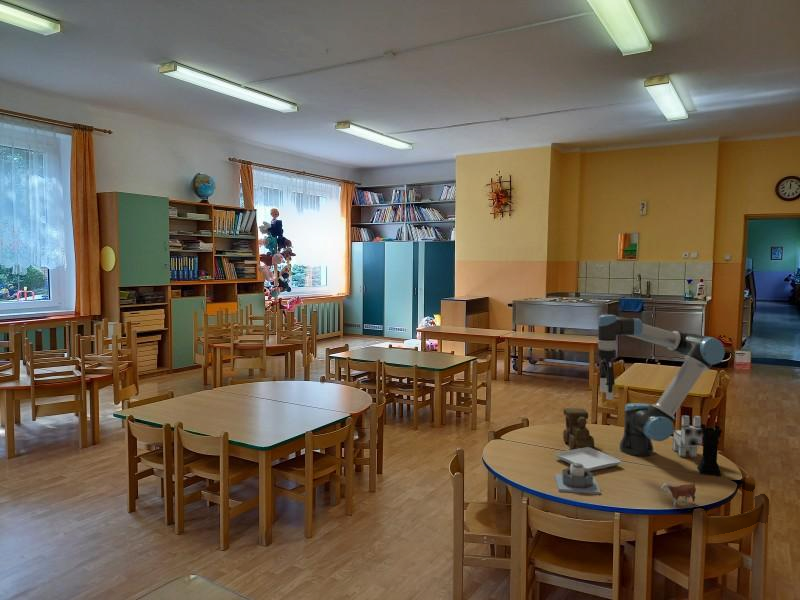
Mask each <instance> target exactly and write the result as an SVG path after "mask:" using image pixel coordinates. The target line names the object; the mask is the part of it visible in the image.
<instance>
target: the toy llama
mask: <svg viewBox="0 0 800 600" xmlns="http://www.w3.org/2000/svg"><path fill="white" fill-rule="evenodd" d="M701 424H702V417H701V416H700V415H693V417H692V425H690V416H689V415H684V414H682V415H681V427H680V429H674V430H673V433H672V435H673V437H672V438H673V439H672V451H673V452H675V453H676V452H677V453H678V454H677V455H678V457H680V458H686V456H687V453H688V455H689V456H688V457H690V458H693V459H694V458H695V459H696V458H698V447H699V446H702V447H703V439H702V437H703V433H702V432H701V429H702V428H701V427H700V425H701Z"/></svg>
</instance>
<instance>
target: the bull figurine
mask: <svg viewBox="0 0 800 600" xmlns="http://www.w3.org/2000/svg"><path fill="white" fill-rule="evenodd" d="M660 489H661V490H662V491H663V490H664V491H665V492H667V493H668V495H669V496H670V497H671V498H672V499H673V500H672V501H671V503H672V502H673V504H672V506H673V505H675V506H676V505H677V501H678V500H679V497H680V498H681V497H682V500H681V501H682V502H683V503H685V502H686V501H687V499H690V498H691V499H692V500H691V502H690V504H691V505H694V504H695V499H696V496H695V494H696V491H697V488H696V486H695V484H693V483H691V484H674V483H669V482H667V481H666V482H665V483H664V484H663V485H662V486H661V487H660Z"/></svg>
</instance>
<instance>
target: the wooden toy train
mask: <svg viewBox="0 0 800 600" xmlns="http://www.w3.org/2000/svg"><path fill="white" fill-rule="evenodd" d="M563 415H564V416H565V427H566V428H564V429H563V431H562V432H563V433H562V437H563V442H564V443H566V444H568V445H569V449H570V450H574V449H579V448H585V447H590V448H592V449H595V439H594V437H593V436H592V435H590V430H589V429H588V428H587V426H586V424H587V423H588V421H587V420H588V419H589V412H588V411H587V410H586V409H584V408H579V407H565V408H563Z"/></svg>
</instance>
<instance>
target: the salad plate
mask: <svg viewBox="0 0 800 600" xmlns="http://www.w3.org/2000/svg"><path fill="white" fill-rule="evenodd" d="M554 456H555V457H556V458H557V459H558V460H561V461H562V462H565V463H567V464H569V465H571V464H573V463H580V464H582V465H584V470H587V471H590V472H592V471H596V470H597V471H598V470H601V469H607V468H609V467H615V466H617V465H619V464H621V463H622V461H621V460H620V459H618V458H615V457H613V456H612V455H610V454H609V455H608V454H607V453H605V452H602V451H599V450H597V449H595V448H594V449H592V448H590V447H585V448H575V449H574V450H571V449H570V450H565V451H559V452H555V453H554Z"/></svg>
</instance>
